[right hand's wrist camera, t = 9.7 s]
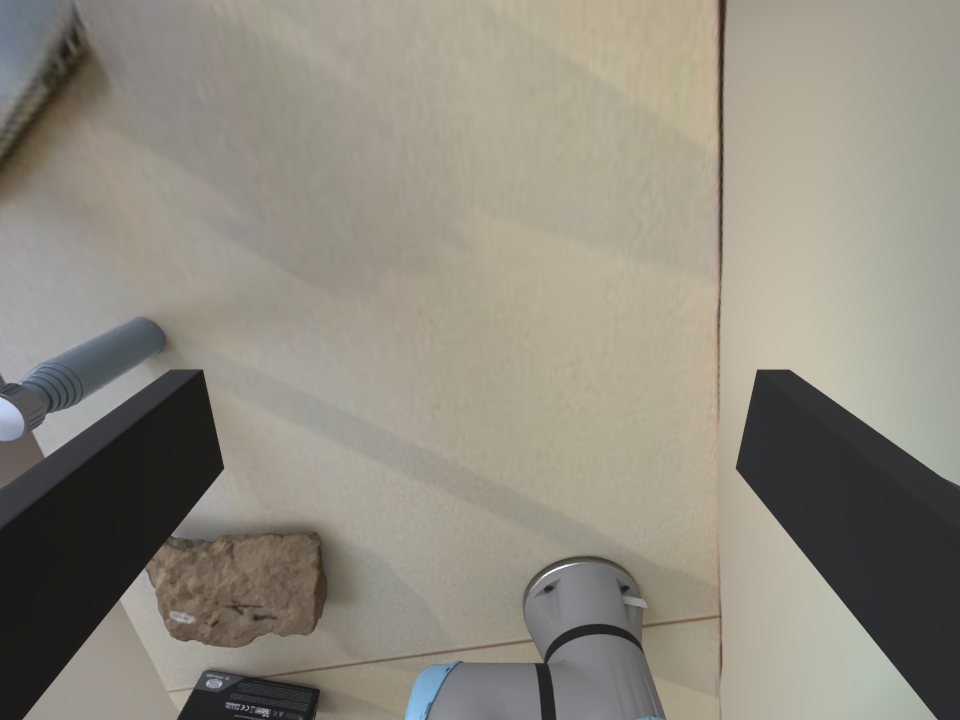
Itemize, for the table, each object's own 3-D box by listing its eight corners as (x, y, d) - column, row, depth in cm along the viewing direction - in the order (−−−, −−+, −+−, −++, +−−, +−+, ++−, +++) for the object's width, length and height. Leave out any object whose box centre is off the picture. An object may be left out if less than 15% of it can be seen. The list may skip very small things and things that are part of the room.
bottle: (157, 316, 54) (16, 387, 38) (169, 353, 56) (40, 438, 39) (118, 319, 54) (-39, 392, 38) (131, 356, 56) (-13, 442, 39)
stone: (158, 632, 66) (136, 667, 60) (149, 523, 64) (125, 548, 58) (329, 617, 70) (324, 648, 64) (326, 513, 68) (320, 535, 62)
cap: (34, 380, 39) (11, 391, 37) (55, 426, 41) (34, 439, 39) (-17, 384, 39) (-42, 396, 37) (6, 430, 41) (-17, 443, 39)
